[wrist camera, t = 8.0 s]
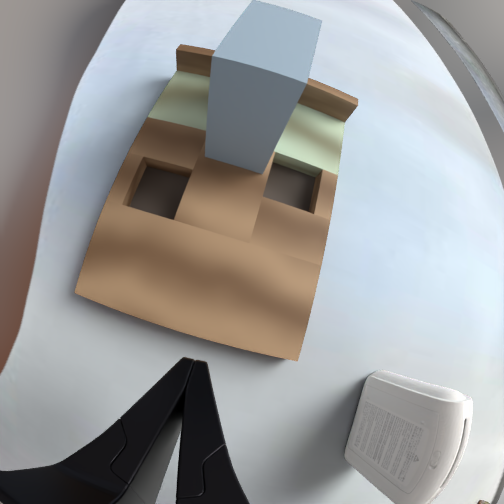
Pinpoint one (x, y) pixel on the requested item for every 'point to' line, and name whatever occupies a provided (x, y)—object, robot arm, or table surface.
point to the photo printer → (408, 436)
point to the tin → (257, 83)
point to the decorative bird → (483, 502)
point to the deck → (219, 221)
